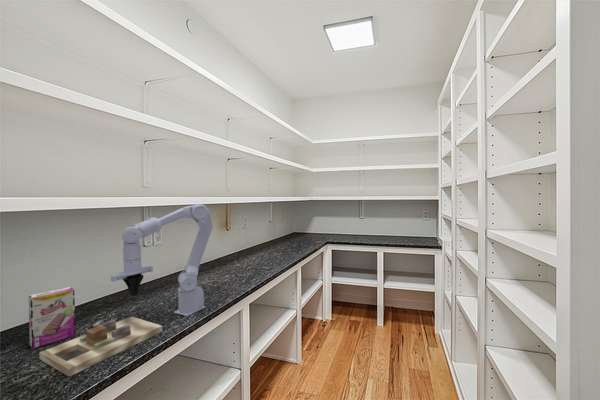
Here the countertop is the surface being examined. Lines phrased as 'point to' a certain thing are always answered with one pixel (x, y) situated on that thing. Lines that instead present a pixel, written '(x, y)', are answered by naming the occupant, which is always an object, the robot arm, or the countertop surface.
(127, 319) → the board
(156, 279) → the countertop surface
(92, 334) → the walnut block
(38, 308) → the candy bar box
